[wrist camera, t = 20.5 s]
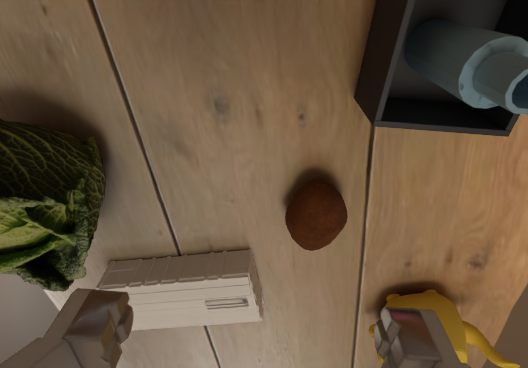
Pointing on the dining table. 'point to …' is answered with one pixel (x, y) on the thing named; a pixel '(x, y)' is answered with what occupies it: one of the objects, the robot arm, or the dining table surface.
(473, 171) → the dining table surface
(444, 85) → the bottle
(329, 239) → the potato
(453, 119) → the box
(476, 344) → the teapot
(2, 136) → the vegetable
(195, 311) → the white box
